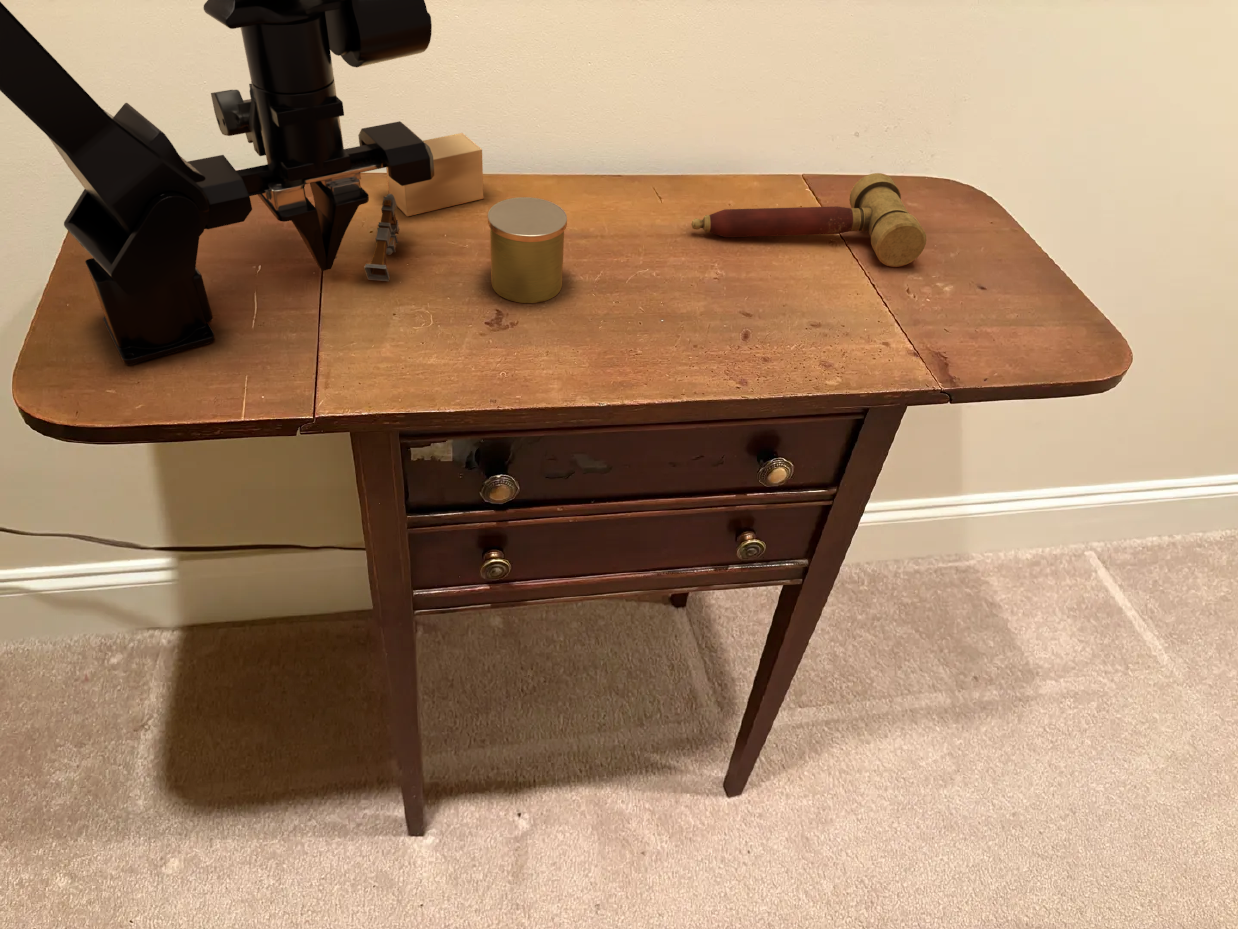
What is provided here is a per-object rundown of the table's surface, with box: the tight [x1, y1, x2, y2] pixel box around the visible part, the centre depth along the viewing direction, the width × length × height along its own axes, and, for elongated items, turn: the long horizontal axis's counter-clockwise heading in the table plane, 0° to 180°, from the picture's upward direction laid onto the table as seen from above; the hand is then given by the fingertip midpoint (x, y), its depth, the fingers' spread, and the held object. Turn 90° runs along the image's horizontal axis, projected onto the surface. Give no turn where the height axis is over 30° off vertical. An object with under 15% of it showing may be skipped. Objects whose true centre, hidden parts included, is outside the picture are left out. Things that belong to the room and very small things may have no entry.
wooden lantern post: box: [363, 193, 400, 282], centre depth 79 cm, size 2×8×4 cm, turn 179°
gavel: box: [690, 172, 927, 268], centre depth 87 cm, size 21×5×10 cm
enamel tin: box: [487, 196, 568, 304], centre depth 76 cm, size 6×6×6 cm
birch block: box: [385, 132, 484, 217], centre depth 87 cm, size 8×4×5 cm, turn 125°
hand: (324, 267), depth 77 cm, fingers closed
